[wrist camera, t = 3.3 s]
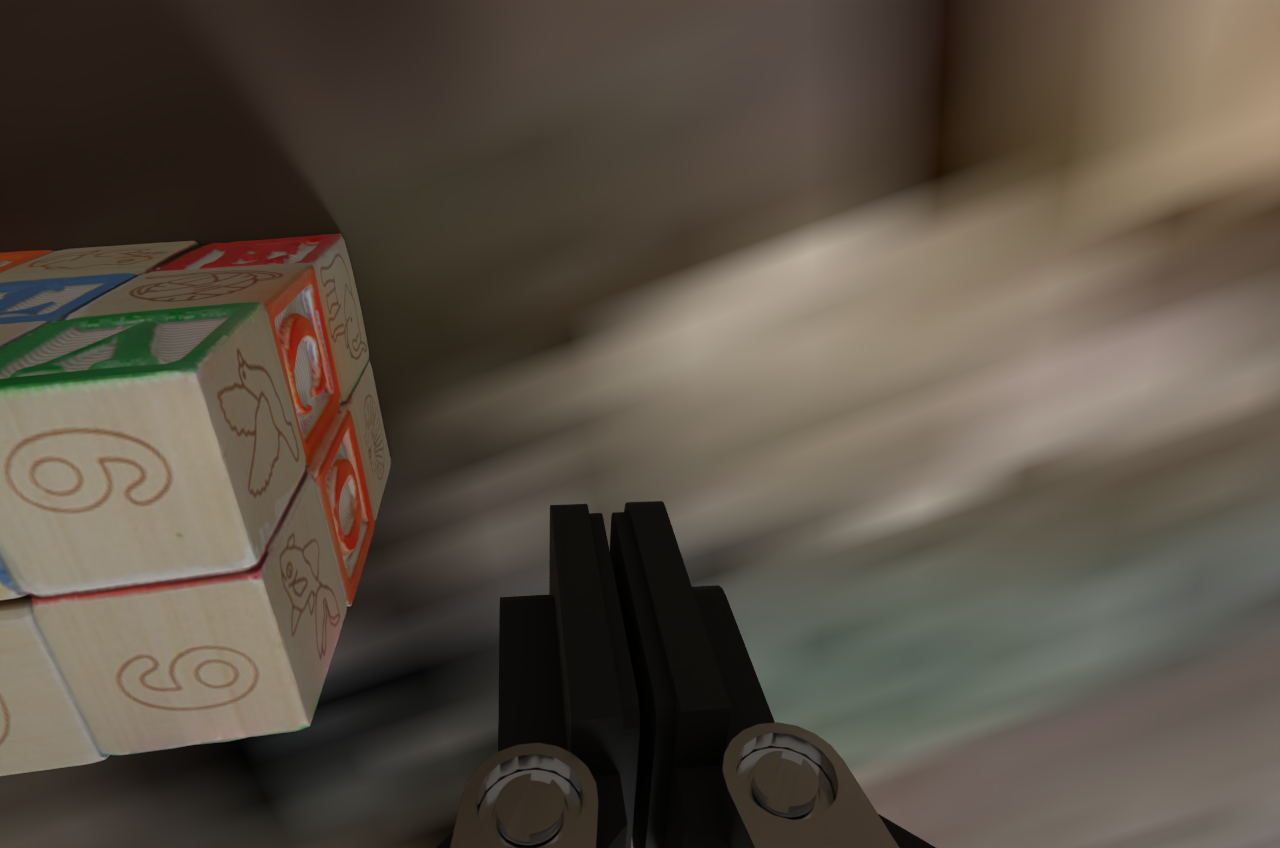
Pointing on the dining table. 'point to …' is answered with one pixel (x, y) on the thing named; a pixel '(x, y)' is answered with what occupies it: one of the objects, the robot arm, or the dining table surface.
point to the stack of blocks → (178, 491)
